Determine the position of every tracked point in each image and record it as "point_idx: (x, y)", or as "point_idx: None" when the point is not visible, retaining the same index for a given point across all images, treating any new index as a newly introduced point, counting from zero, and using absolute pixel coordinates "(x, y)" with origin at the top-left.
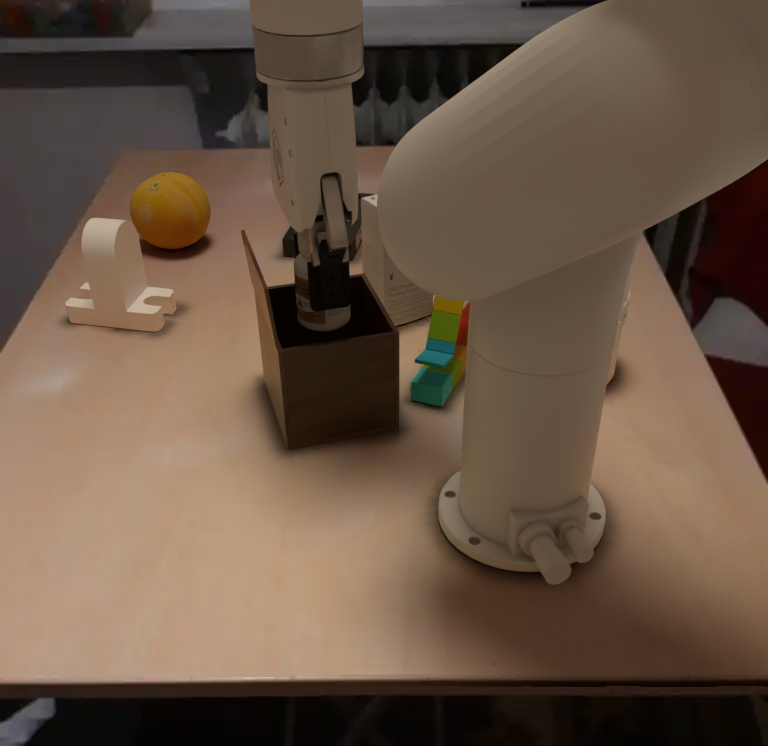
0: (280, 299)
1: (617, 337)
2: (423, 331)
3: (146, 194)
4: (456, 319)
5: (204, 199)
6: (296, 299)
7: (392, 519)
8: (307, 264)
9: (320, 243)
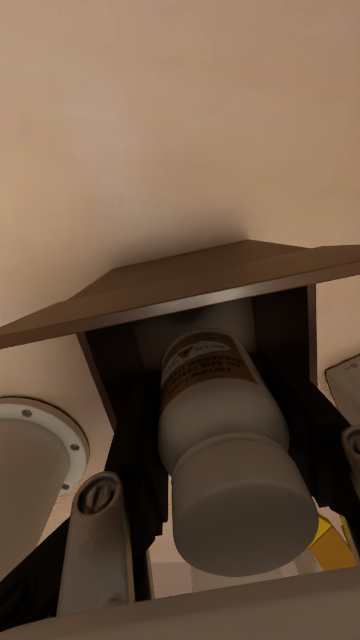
0: (294, 293)
1: None
2: None
3: None
4: None
5: None
6: (204, 345)
7: (10, 362)
8: (129, 455)
9: (46, 599)
